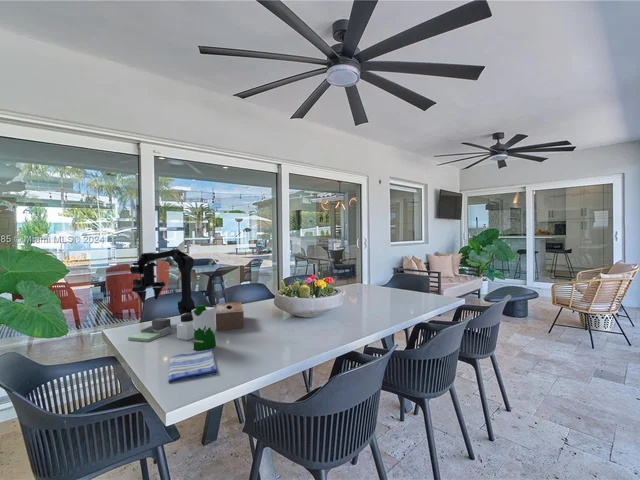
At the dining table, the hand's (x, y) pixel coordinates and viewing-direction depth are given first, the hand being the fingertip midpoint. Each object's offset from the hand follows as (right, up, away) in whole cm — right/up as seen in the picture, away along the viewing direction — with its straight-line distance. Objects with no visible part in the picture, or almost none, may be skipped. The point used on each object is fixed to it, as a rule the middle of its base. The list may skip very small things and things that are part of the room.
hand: (149, 301), depth 186 cm
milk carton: (+46, -14, -39) cm, 62 cm away
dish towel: (+49, -15, -60) cm, 78 cm away
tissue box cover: (+46, -14, -1) cm, 48 cm away
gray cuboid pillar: (+10, -14, -6) cm, 18 cm away
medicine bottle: (+32, -14, -24) cm, 42 cm away
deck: (+11, -14, -20) cm, 27 cm away
